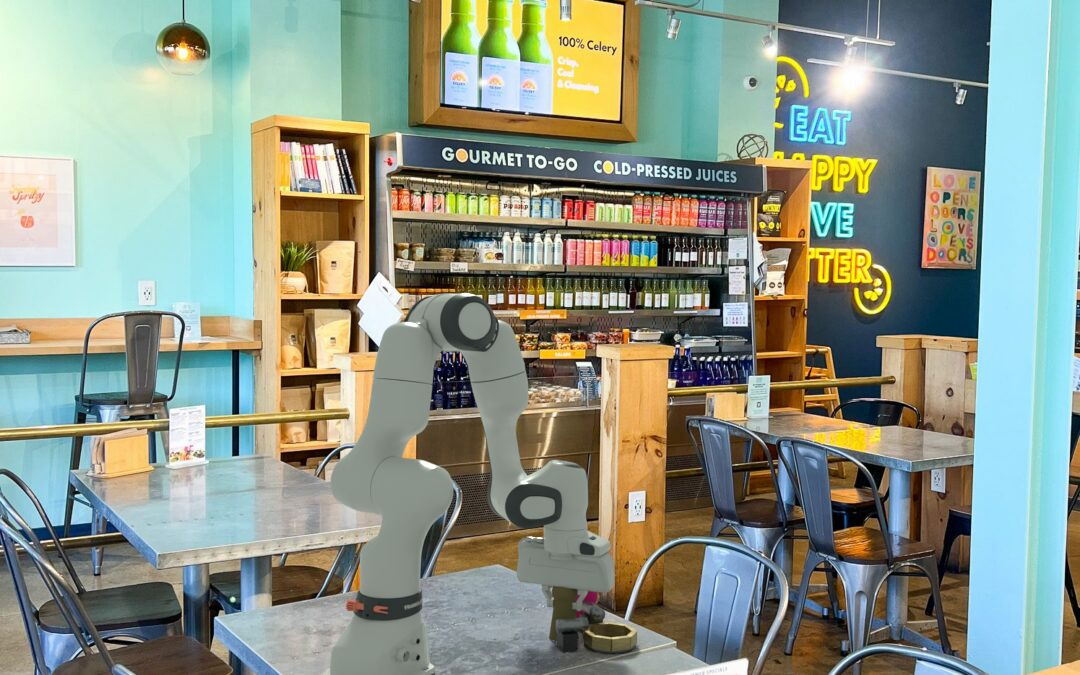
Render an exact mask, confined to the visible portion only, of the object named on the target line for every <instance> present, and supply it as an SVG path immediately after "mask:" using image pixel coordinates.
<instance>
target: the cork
mask: <svg viewBox="0 0 1080 675" xmlns="http://www.w3.org/2000/svg"><path fill="white" fill-rule="evenodd" d="M551 593H552V596H553V598H554V607H553V608H552V615H551V622H550V628H549V635H548V637H549V638H548V639H549V640H551V641H553V640H554V641H553V642H556V641H557V631H556V620H560V619H573V618H577V617H576V611H573V610H572V607H573V606H572V602H574V601H575V599H576V598H577V595H578V591H577V589H570V588H565V587H555V586H552V588H551ZM576 633H577V634H578V640H580V638H579V636H580V635H579V632H576Z"/></svg>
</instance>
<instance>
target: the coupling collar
mask: <svg viewBox="0 0 1080 675" xmlns="http://www.w3.org/2000/svg"><path fill="white" fill-rule="evenodd" d="M582 643H583V647H584V648H585V649H586V650H588V651H590V652H593V653H597V654H603V655H620V654H621V655H622V654H628V653H631V652H633V651H635V649H637V643H638V630H636V629H635V628H633V627H632V626H631V625H629V624H625V623H619V622H612V621H611V622H608V621H606V622H604V621H603V623H595V624H590V625H589V629H588V631H583V633H582Z"/></svg>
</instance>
